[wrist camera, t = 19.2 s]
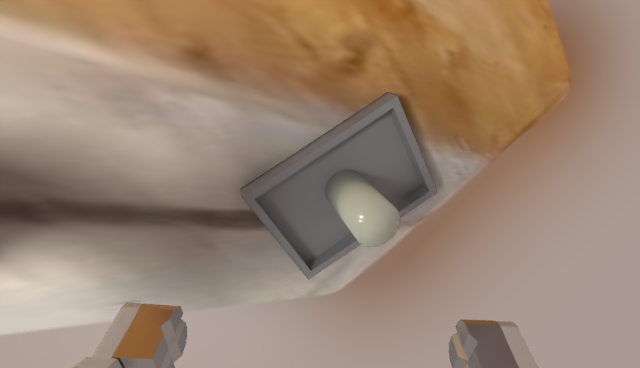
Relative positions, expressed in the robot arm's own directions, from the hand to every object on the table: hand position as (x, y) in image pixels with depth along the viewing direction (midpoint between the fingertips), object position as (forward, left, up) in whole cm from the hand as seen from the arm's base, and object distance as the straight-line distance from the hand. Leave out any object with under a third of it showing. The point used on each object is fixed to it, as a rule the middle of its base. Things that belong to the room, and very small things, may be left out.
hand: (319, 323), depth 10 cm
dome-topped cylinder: (+6, -17, -32) cm, 37 cm away
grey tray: (+6, -17, -33) cm, 37 cm away
